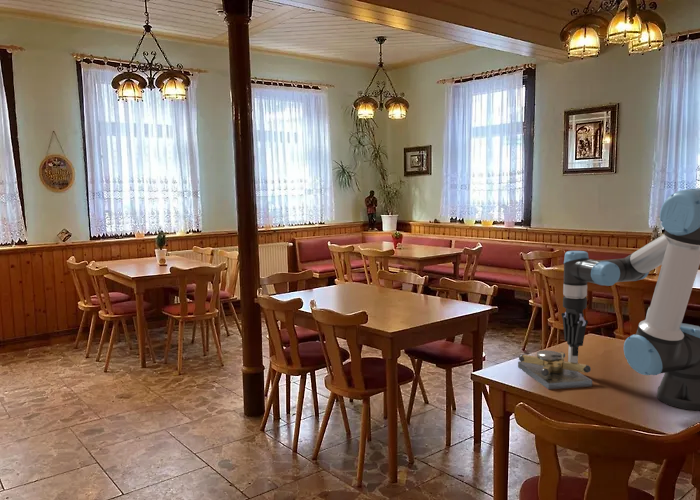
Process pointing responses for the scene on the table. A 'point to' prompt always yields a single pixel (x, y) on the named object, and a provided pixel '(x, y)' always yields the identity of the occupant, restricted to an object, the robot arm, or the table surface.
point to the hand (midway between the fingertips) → (572, 364)
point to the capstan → (553, 362)
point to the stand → (556, 377)
